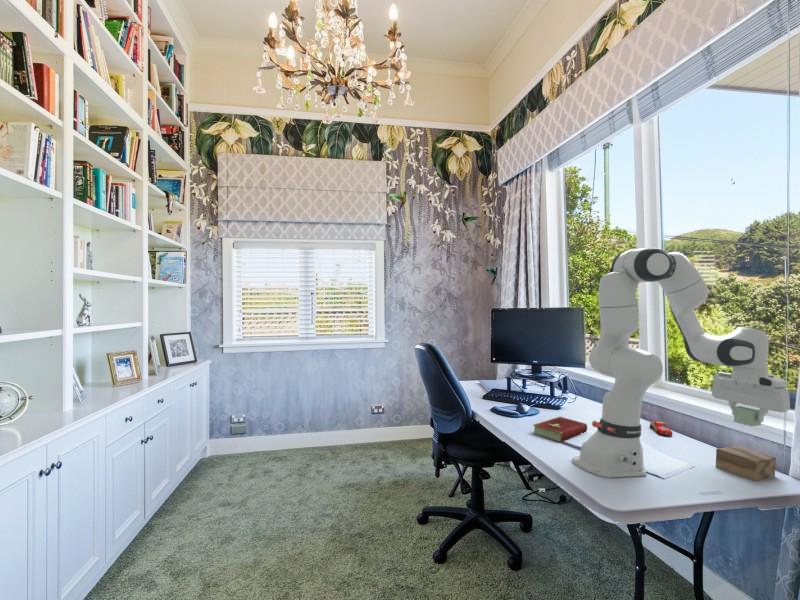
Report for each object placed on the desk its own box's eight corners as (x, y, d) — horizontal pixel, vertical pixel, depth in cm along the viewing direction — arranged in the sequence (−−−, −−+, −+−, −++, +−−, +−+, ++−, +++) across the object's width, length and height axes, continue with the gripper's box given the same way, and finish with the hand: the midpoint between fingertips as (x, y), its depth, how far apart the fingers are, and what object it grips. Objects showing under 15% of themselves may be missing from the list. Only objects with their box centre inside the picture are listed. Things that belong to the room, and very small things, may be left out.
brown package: (754, 480, 125) (755, 461, 125) (715, 466, 135) (716, 448, 135) (774, 476, 129) (775, 457, 129) (735, 462, 140) (736, 445, 139)
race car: (674, 438, 164) (674, 428, 164) (659, 436, 166) (659, 427, 166) (662, 428, 177) (662, 419, 177) (648, 427, 178) (648, 418, 178)
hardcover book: (587, 433, 166) (587, 423, 166) (561, 443, 153) (561, 432, 153) (559, 425, 175) (560, 415, 175) (532, 434, 162) (533, 423, 162)
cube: (751, 426, 129) (752, 410, 129) (733, 421, 134) (734, 406, 134) (760, 425, 131) (761, 409, 131) (742, 420, 136) (743, 405, 136)
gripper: (708, 371, 141) (706, 410, 141) (782, 383, 122) (780, 429, 122) (719, 370, 143) (718, 409, 143) (793, 382, 124) (791, 427, 124)
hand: (747, 418), depth 132 cm, fingers closed on cube, 5 cm apart
